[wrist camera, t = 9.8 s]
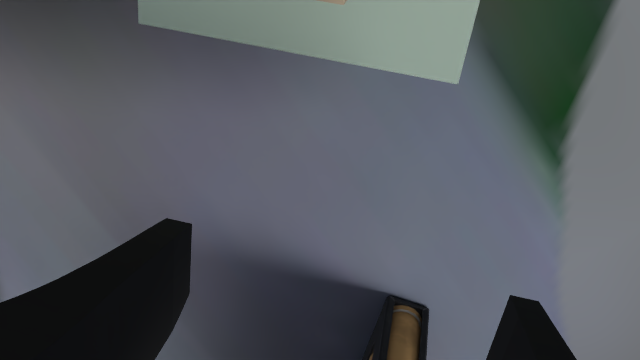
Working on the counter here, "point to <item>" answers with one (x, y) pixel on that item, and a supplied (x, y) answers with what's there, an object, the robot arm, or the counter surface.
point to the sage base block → (335, 29)
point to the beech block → (335, 1)
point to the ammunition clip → (399, 332)
